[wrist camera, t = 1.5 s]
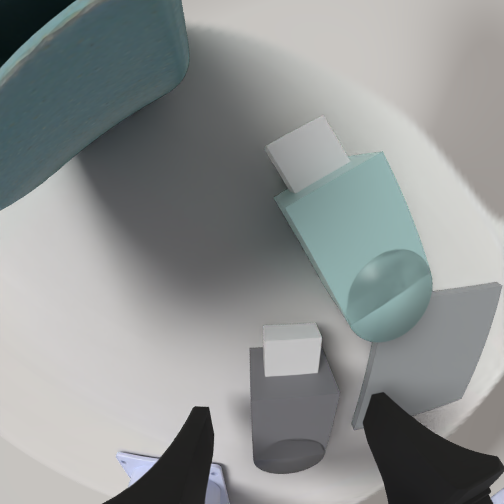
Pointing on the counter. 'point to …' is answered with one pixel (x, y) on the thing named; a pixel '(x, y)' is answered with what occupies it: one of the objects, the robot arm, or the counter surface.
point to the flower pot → (78, 77)
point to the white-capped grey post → (291, 398)
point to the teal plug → (353, 230)
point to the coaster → (432, 352)
